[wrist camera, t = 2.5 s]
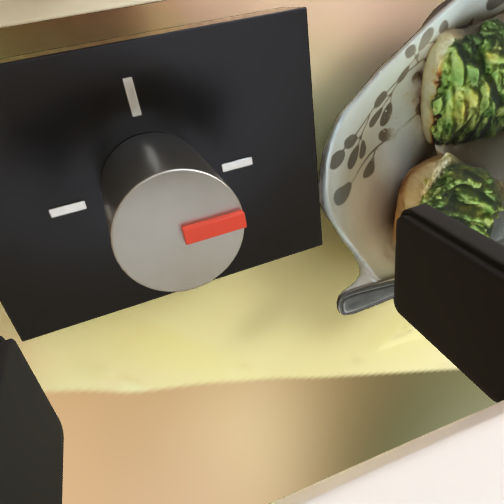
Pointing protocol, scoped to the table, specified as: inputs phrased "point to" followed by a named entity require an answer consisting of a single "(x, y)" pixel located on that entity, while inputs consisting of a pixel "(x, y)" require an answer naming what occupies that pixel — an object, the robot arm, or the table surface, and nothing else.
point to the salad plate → (420, 143)
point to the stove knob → (169, 213)
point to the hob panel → (139, 122)
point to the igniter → (56, 9)
